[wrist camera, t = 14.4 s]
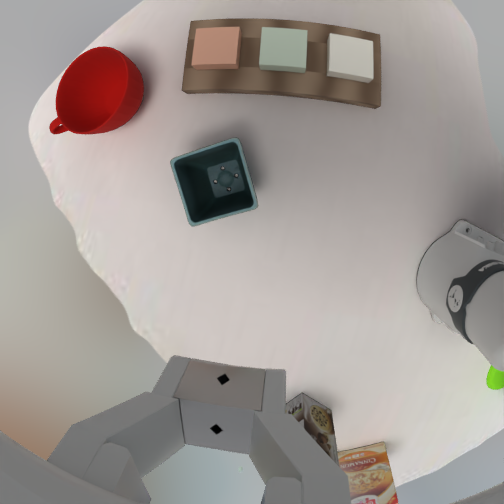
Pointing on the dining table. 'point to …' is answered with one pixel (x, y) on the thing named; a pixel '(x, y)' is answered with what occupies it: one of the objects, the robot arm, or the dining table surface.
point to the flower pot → (202, 182)
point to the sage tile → (283, 49)
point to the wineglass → (495, 378)
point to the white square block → (349, 58)
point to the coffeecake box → (369, 475)
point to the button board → (284, 82)
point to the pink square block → (217, 48)
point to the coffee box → (315, 422)
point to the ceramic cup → (97, 93)
